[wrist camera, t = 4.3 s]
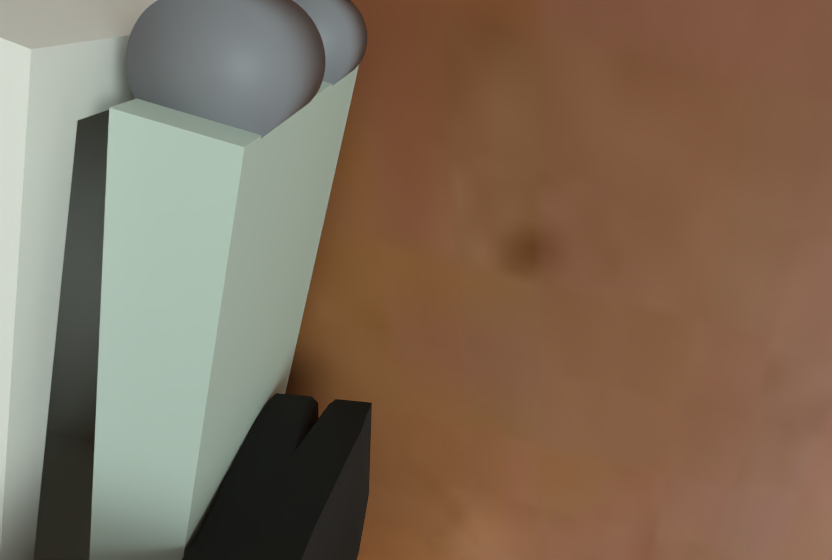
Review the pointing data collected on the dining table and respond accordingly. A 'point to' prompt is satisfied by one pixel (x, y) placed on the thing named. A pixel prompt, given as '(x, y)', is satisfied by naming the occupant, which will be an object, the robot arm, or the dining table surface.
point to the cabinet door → (208, 247)
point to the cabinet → (53, 260)
